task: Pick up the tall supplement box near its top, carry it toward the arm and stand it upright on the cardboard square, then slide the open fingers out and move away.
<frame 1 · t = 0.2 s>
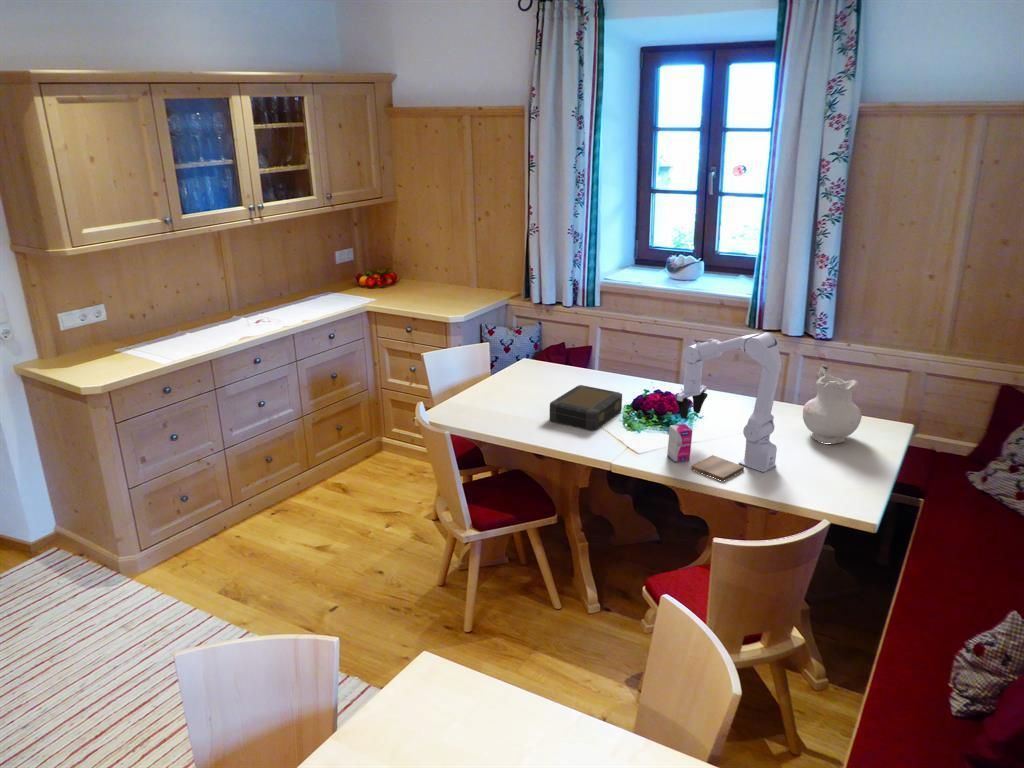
hand: (690, 415, 276), 10 cm above the table, tool pointing down, fingers open, 7 cm apart
cash box: (585, 416, 304), on the table
supplement box: (678, 459, 266), on the table
ceramic pitcher: (826, 437, 283), on the table
cardboard square: (717, 471, 258), on the table
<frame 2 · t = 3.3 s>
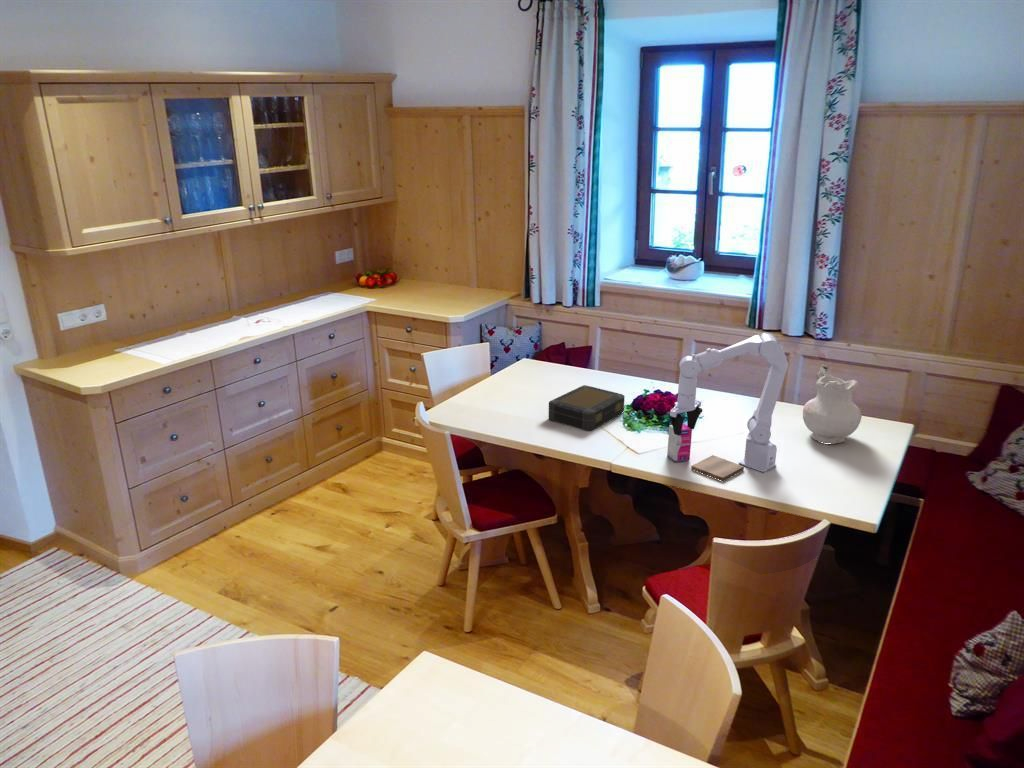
hand: (684, 431, 262), 10 cm above the table, tool pointing down, fingers open, 7 cm apart
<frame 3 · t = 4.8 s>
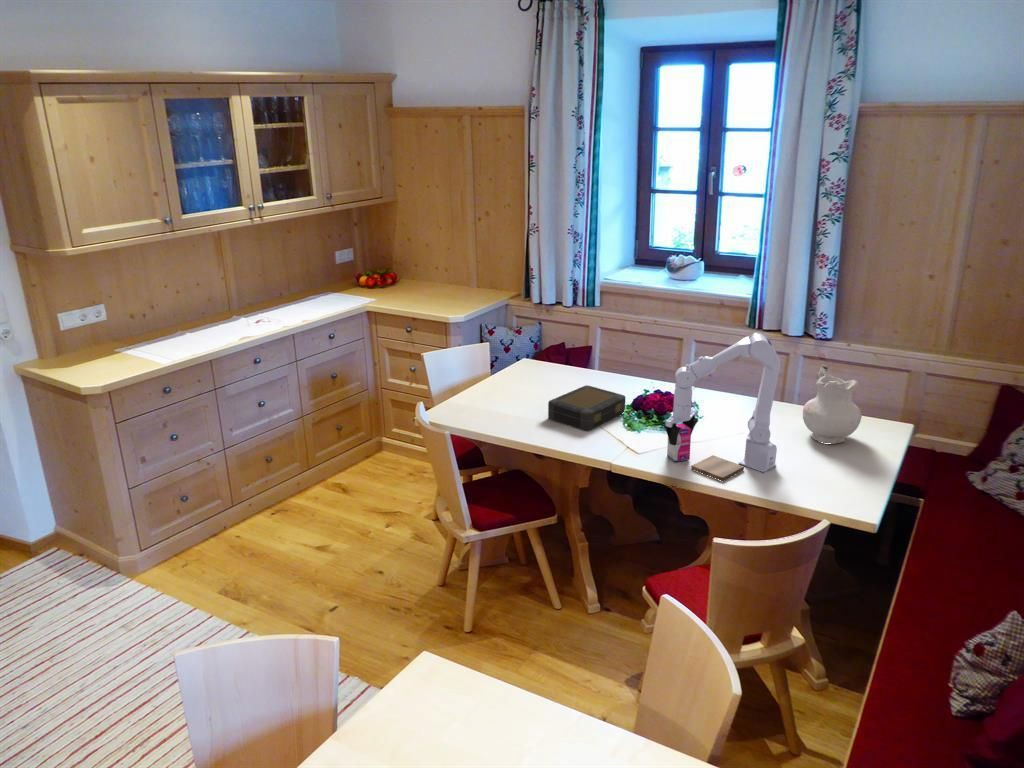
hand: (679, 441, 264), 6 cm above the table, tool pointing down, fingers closed on supplement box, 7 cm apart
supplement box: (678, 458, 266), on the table, touching gripper
when the fingers open (10 cm above the table, at t = 7.2 s): supplement box drops 3 cm, point 1 cm above the table.
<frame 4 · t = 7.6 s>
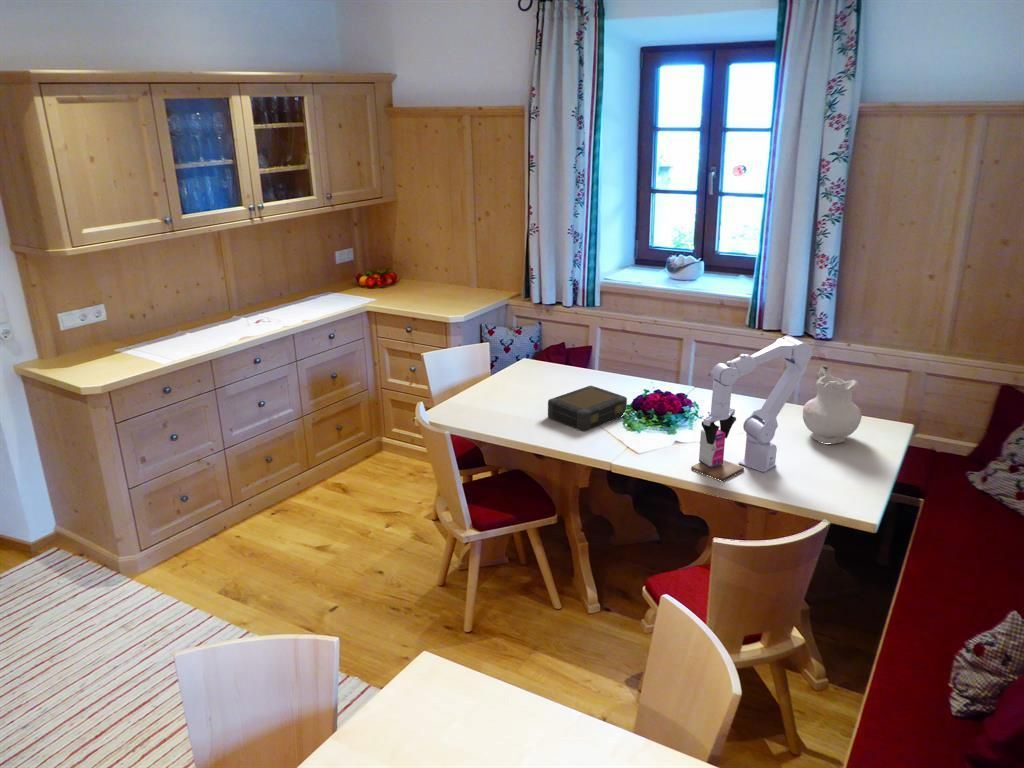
hand: (717, 440, 255), 10 cm above the table, tool pointing down, fingers open, 7 cm apart
supplement box: (711, 463, 260), point 1 cm above the table, touching gripper
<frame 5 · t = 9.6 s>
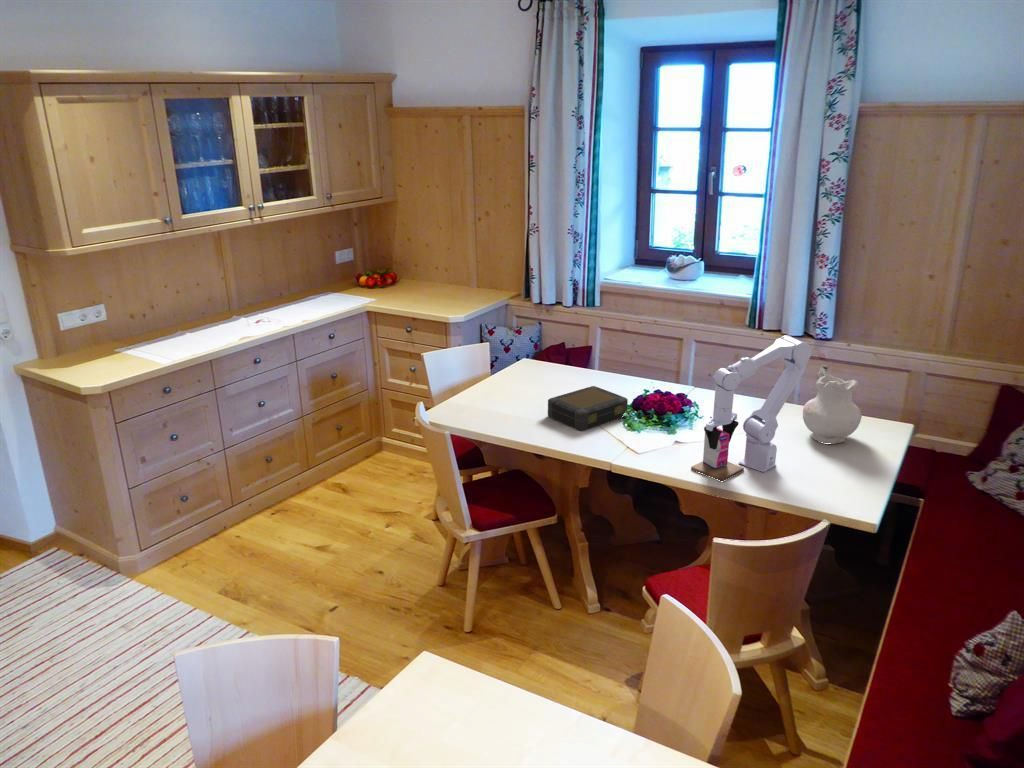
hand: (719, 445, 255), 9 cm above the table, tool pointing down, fingers open, 7 cm apart
supplement box: (715, 464, 259), point 1 cm above the table, touching gripper
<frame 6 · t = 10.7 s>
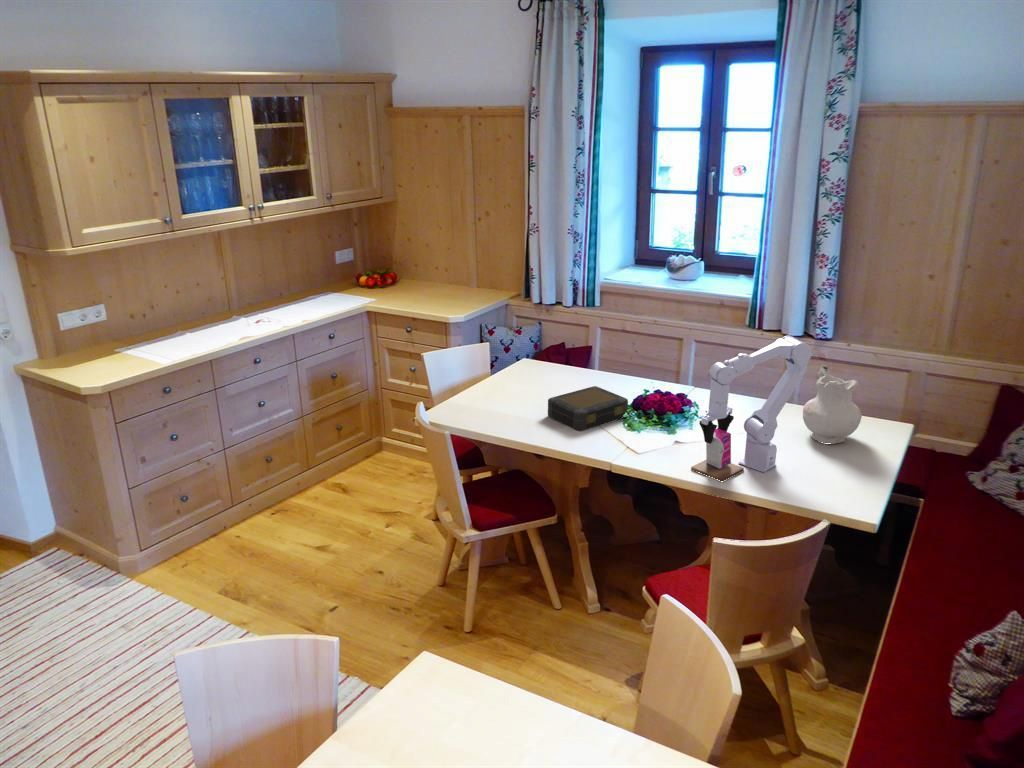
hand: (714, 439, 256), 10 cm above the table, tool pointing down, fingers open, 7 cm apart
supplement box: (718, 464, 259), point 1 cm above the table, touching gripper
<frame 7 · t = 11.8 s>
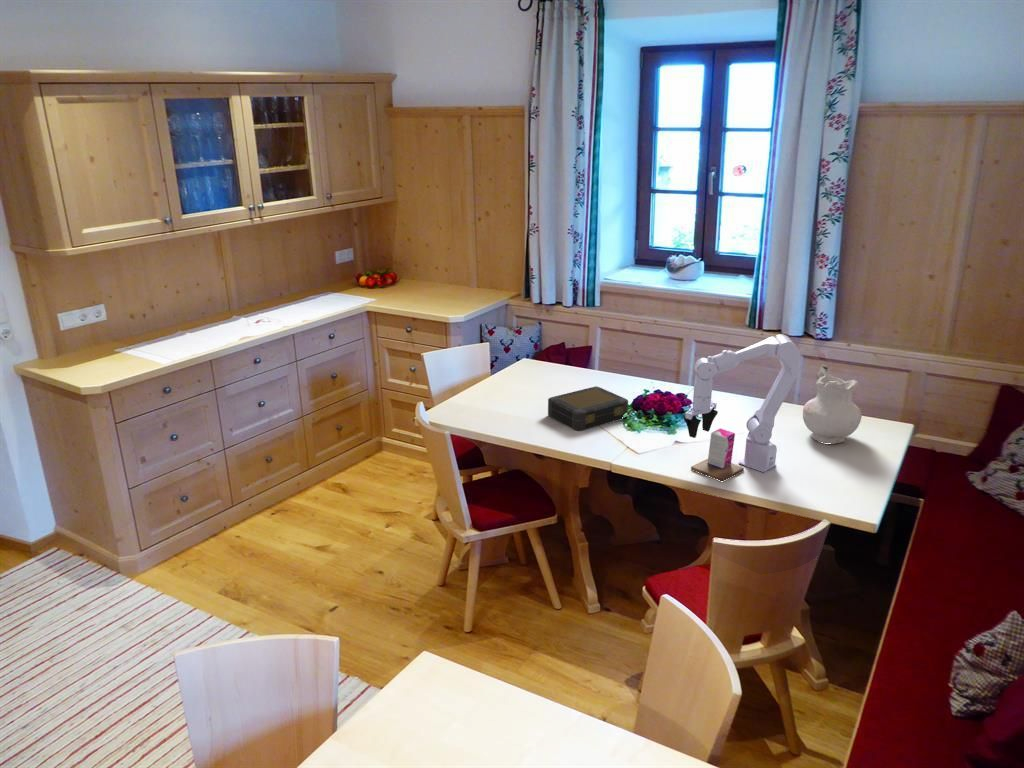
hand: (699, 433, 260), 10 cm above the table, tool pointing down, fingers open, 7 cm apart
supplement box: (719, 465, 259), point 1 cm above the table
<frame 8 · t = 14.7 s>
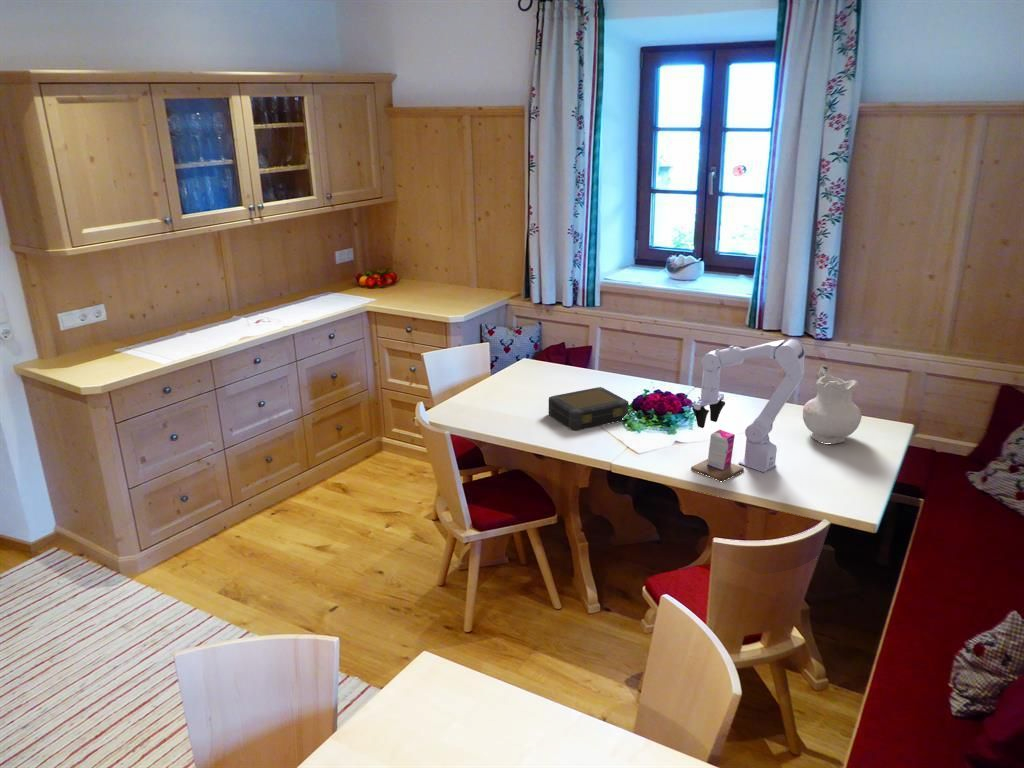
hand: (707, 424, 268), 10 cm above the table, tool pointing down, fingers open, 7 cm apart
supplement box: (718, 466, 258), point 1 cm above the table, touching cardboard square
cardboard square: (717, 472, 258), on the table, touching supplement box
at the end: supplement box 1.3 cm off-centre on the cardboard square, point 1.9 cm above the cardboard square's base; supplement box tilted 1°; the gripper is holding nothing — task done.
